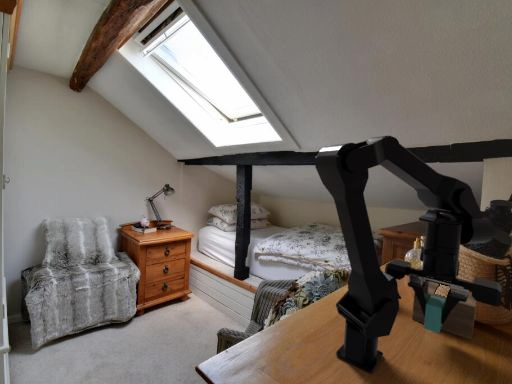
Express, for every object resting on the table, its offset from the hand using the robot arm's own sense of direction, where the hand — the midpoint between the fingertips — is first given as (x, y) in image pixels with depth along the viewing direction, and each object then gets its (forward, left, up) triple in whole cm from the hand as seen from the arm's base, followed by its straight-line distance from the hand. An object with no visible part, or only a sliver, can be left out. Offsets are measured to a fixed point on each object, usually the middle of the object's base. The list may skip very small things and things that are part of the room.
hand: (434, 320), depth 55 cm
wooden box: (+12, 0, -5) cm, 13 cm away
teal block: (0, 0, -1) cm, 1 cm away
